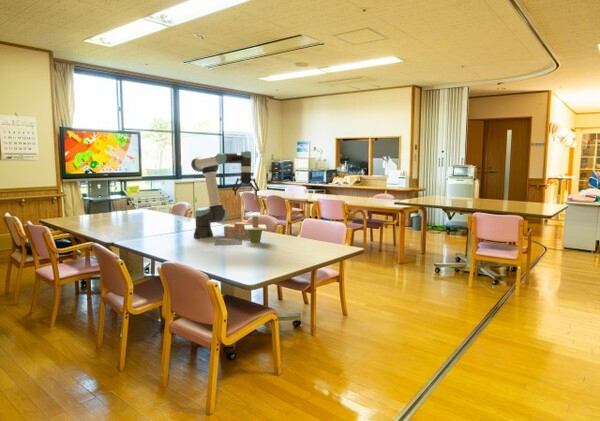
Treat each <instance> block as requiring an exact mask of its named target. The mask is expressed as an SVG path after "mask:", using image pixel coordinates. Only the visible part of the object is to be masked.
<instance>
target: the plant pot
mask: <svg viewBox="0 0 600 421" xmlns="http://www.w3.org/2000/svg"><path fill="white" fill-rule="evenodd" d="M248 231H249V235H250V238H249V240H250V243H252V244H254V243H255V244H257V243H261V240H262V232H263V230H248Z"/></svg>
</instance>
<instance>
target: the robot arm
mask: <svg viewBox="0 0 600 421" xmlns="http://www.w3.org/2000/svg"><path fill="white" fill-rule="evenodd" d="M190 164H191V168H192V170H193V171H194V172H199V173H202V175H203V177H205V179H204V180H205V185H206V189H207V196H208V202H209V206H204V207H199V208H196V209H195V212H194V216H195V218H194V219H195V229H194V232H193V238H194V239H207V238H213V237H214V233H213V230H212V226H211V224H213V223H220V222H224V221H225V220H226V218H227V216H228V210H227V209H226V208H225V207H224V206H223V203H221V198H220V193H219V188H218V180H217V176H216V175H217V174H218V172H217V171H218V170H219V167H220V166H219V165H224V164H225V165H226V164H240V171H241V172H240V178H239V177H237V178H236V181H235V183H234V185H233V187H232V191H234V196H235V198H236V199H235V200H236V201H237V200H238V189H239V188H240V187H241V186H242V185H250V187H251V188H252V189H253V190H254V191H253V192H254V196H253V197H254V198H253V200H254V201H256V196H258V195H257V194H258V192H260V188H259V186H258V184H257V182H256V178H252V152H251V151H249V150H244V151H243V150H242V151H241V152H240V153H238V152H237V153H236V152H235V153H233V152H231V153H230V152H229V153H226V152H225V153H224V152H220V153H218V152H217V153H216V154H214V155H210V156H206V157H195V158H194V159H192V160H191V162H190ZM239 181H240V183H239ZM251 182H253V183H251ZM238 183H239V185H238ZM253 184H254V185H255V186H254V185H253ZM236 186H237V187H236Z"/></svg>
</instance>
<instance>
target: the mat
mask: <svg viewBox="0 0 600 421" xmlns="http://www.w3.org/2000/svg"><path fill="white" fill-rule="evenodd" d="M241 245H242V246H243V238H237V239H215V241H214V244H213V246H218V247H219V246H241Z"/></svg>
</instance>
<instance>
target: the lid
mask: <svg viewBox="0 0 600 421" xmlns="http://www.w3.org/2000/svg"><path fill="white" fill-rule="evenodd" d="M251 218H252V222H251V223H252V225H244V227H245V230H262V231H263V230H267V229H268V228H267V226H266V224H259V215H255V214H253V215H252V217H251Z"/></svg>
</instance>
